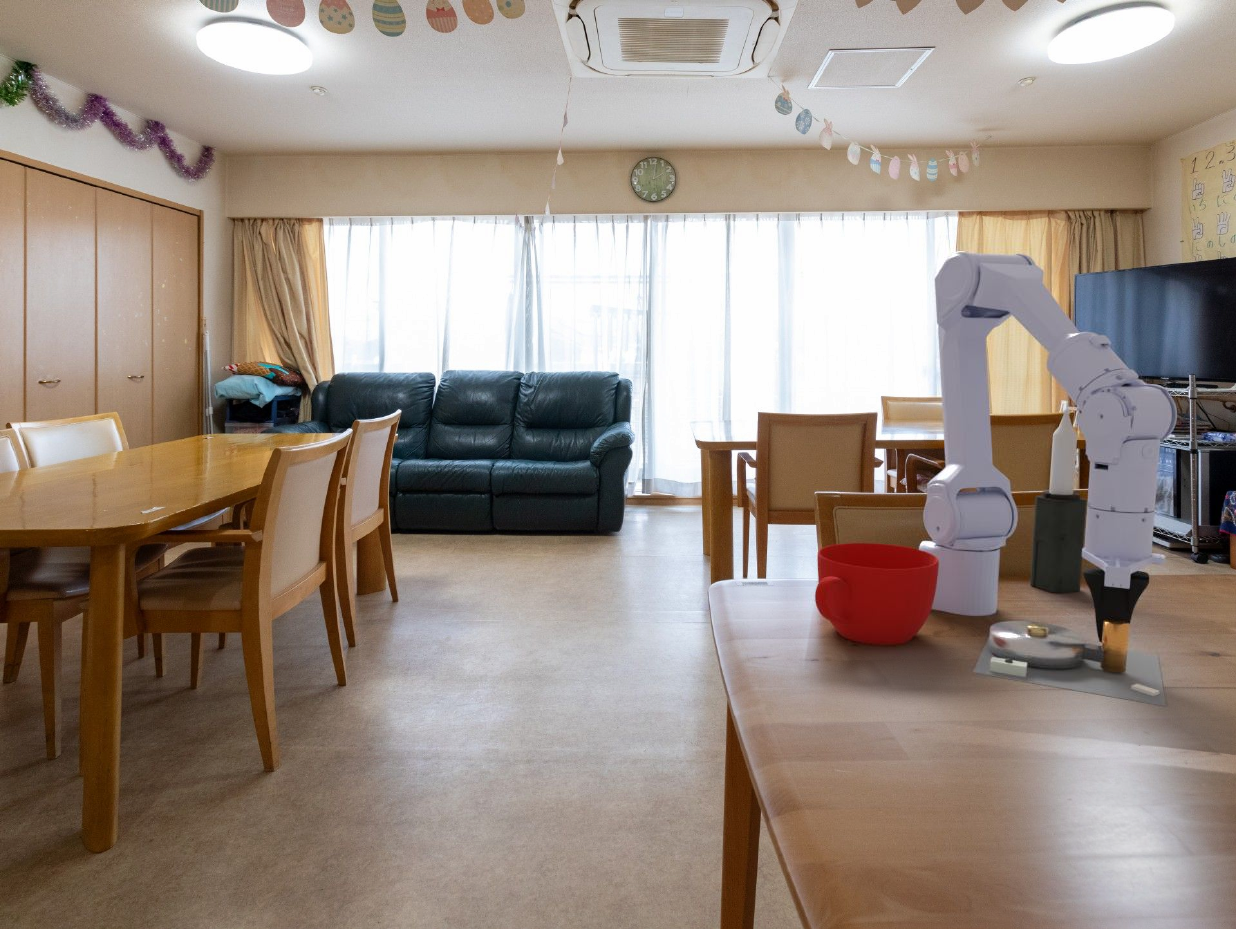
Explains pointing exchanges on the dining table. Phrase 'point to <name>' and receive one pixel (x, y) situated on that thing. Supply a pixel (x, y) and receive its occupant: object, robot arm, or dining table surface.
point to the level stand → (1085, 676)
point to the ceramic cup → (876, 590)
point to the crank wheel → (1059, 645)
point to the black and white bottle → (1059, 520)
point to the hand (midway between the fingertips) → (1111, 641)
